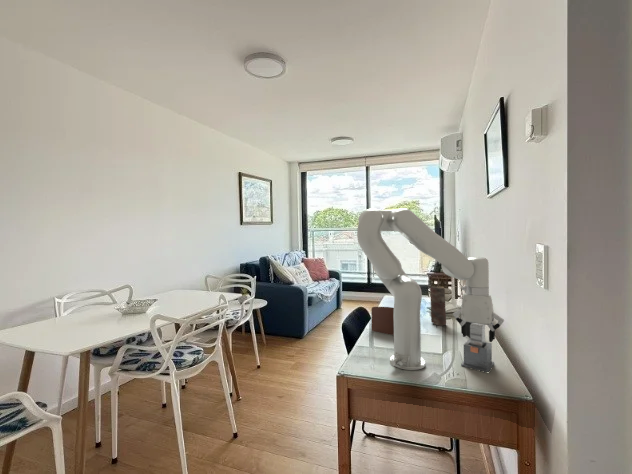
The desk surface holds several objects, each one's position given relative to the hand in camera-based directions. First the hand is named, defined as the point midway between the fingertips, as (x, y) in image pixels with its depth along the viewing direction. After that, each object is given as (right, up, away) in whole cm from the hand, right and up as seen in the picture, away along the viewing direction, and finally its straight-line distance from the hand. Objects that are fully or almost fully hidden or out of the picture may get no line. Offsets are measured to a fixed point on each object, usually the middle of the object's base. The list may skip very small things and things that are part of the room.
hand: (477, 338), depth 116 cm
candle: (+5, -9, +51) cm, 52 cm away
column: (0, -9, 0) cm, 9 cm away
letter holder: (-21, -10, +37) cm, 44 cm away
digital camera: (+15, -9, +33) cm, 38 cm away
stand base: (0, -10, 0) cm, 10 cm away
